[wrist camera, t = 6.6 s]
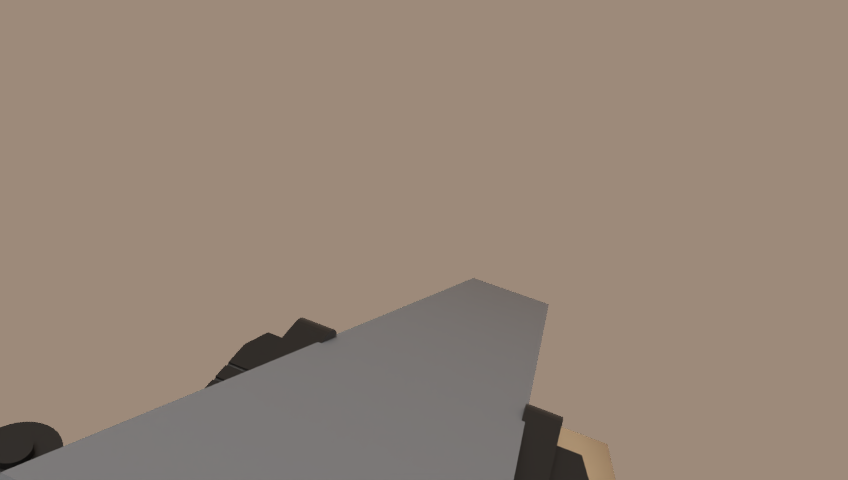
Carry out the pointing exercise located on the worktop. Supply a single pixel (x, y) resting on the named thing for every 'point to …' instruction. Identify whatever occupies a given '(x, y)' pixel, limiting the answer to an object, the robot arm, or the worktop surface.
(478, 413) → the block
